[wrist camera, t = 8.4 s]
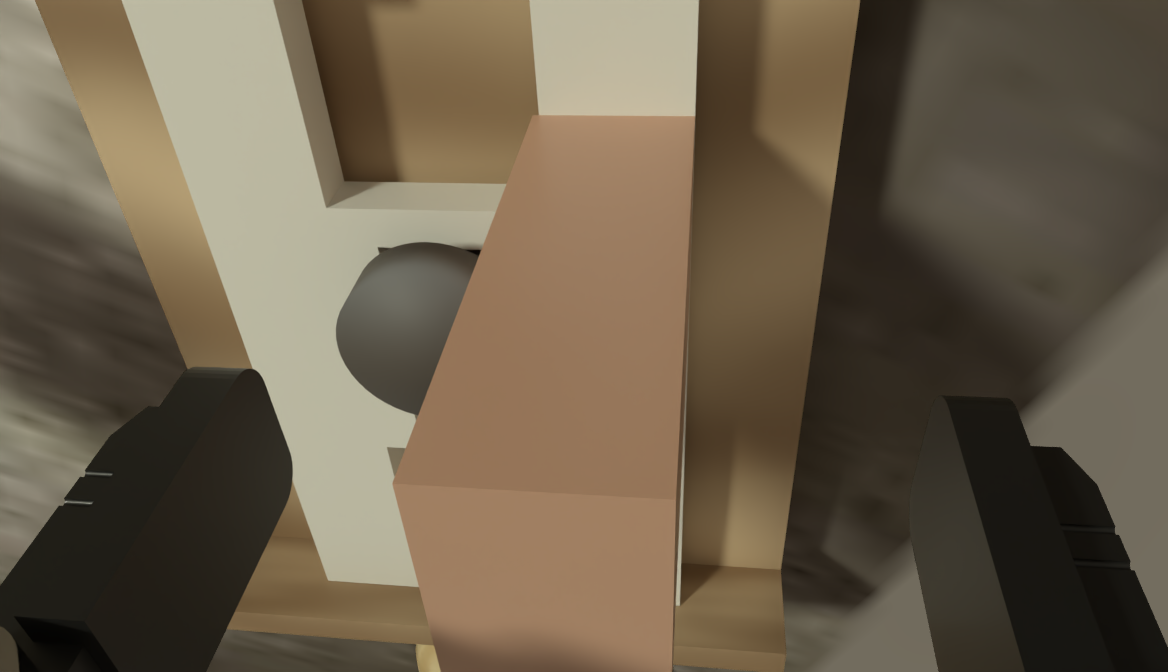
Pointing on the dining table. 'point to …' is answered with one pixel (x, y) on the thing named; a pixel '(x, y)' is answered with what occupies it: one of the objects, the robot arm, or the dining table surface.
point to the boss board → (442, 272)
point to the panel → (353, 222)
